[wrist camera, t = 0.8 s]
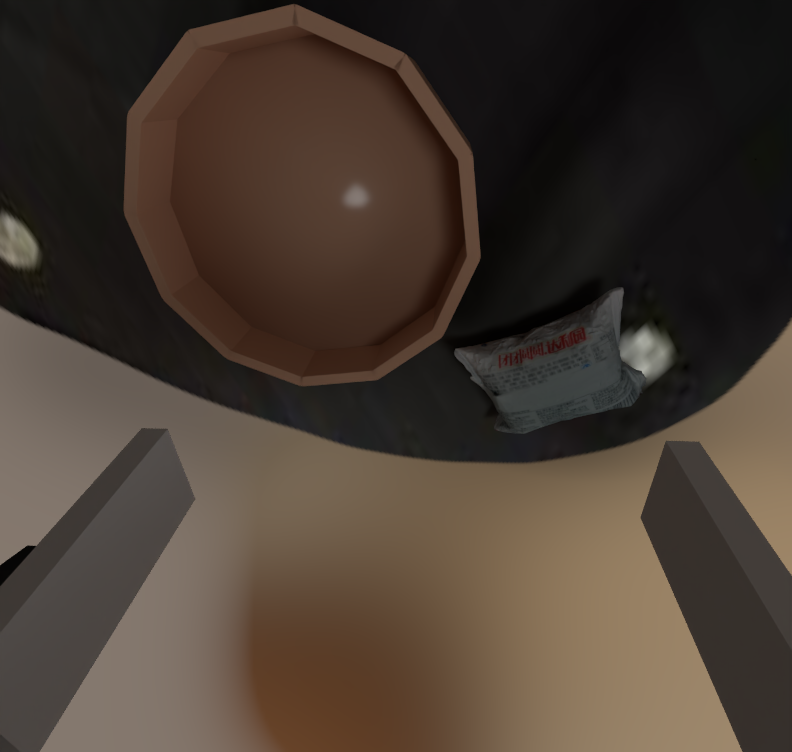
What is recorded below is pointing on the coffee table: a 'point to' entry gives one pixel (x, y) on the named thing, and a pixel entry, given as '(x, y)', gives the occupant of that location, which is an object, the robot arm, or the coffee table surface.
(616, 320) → the packaged food
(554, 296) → the coffee table surface
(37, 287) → the coffee table surface
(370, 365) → the bowl
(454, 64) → the coffee table surface
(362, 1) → the coffee table surface
